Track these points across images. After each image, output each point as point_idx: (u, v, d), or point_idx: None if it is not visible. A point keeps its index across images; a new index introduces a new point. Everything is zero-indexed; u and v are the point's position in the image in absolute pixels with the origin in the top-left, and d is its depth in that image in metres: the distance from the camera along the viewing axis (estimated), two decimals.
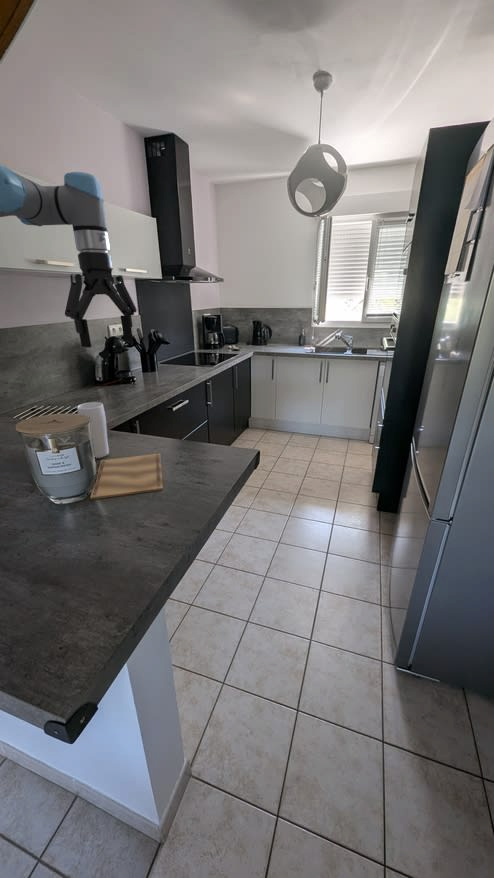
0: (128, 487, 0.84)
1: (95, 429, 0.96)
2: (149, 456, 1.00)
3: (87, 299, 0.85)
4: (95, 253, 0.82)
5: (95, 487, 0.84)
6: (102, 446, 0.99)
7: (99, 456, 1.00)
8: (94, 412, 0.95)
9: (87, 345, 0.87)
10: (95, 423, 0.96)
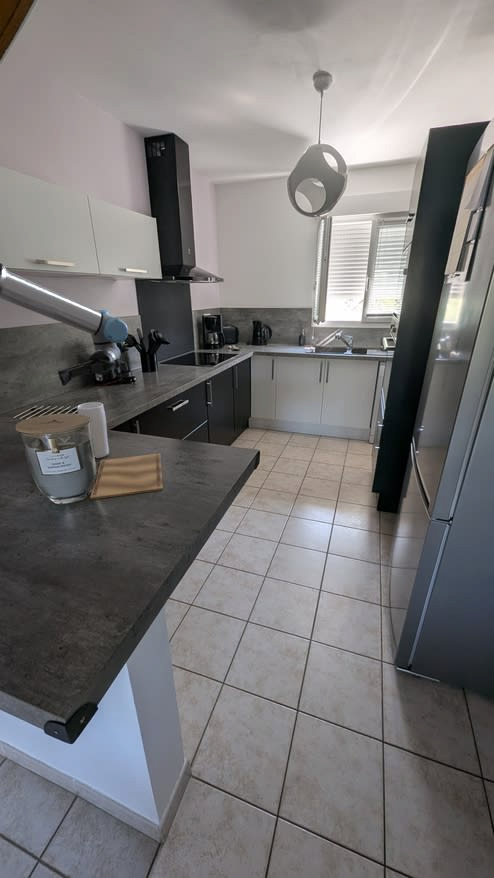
0: (128, 487, 0.84)
1: (95, 429, 0.96)
2: (149, 456, 1.00)
3: None
4: None
5: (95, 487, 0.84)
6: (102, 446, 0.99)
7: (99, 456, 1.00)
8: (94, 412, 0.95)
9: (113, 376, 1.03)
10: (95, 423, 0.96)
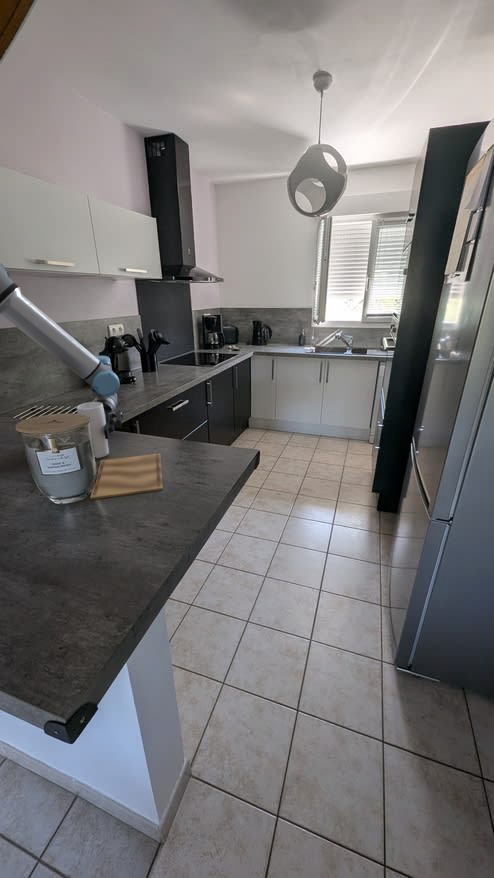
0: (128, 487, 0.84)
1: (95, 429, 0.96)
2: (149, 456, 1.00)
3: None
4: None
5: (95, 487, 0.84)
6: (102, 446, 0.99)
7: (99, 456, 1.00)
8: (94, 412, 0.95)
9: (108, 437, 0.96)
10: (95, 423, 0.96)
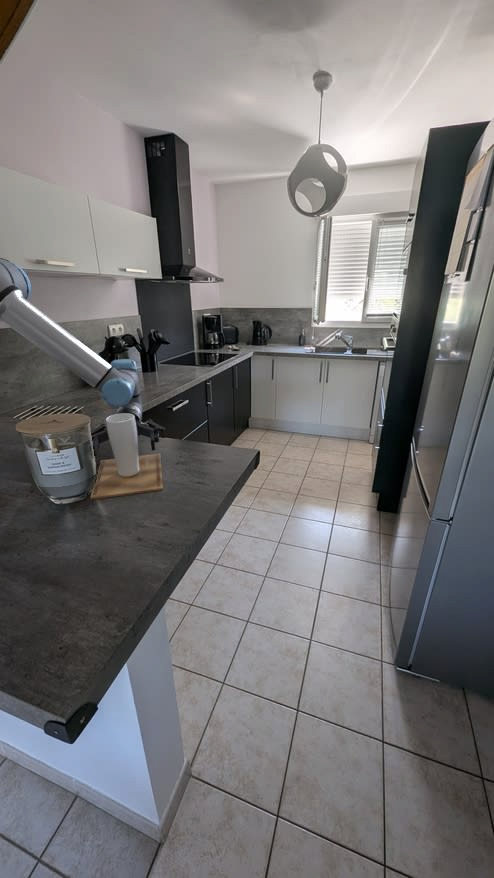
0: (128, 487, 0.84)
1: (126, 444, 0.85)
2: (149, 456, 1.00)
3: None
4: None
5: (95, 487, 0.84)
6: (133, 463, 0.88)
7: (129, 474, 0.88)
8: (126, 426, 0.83)
9: (154, 448, 0.87)
10: (126, 438, 0.84)
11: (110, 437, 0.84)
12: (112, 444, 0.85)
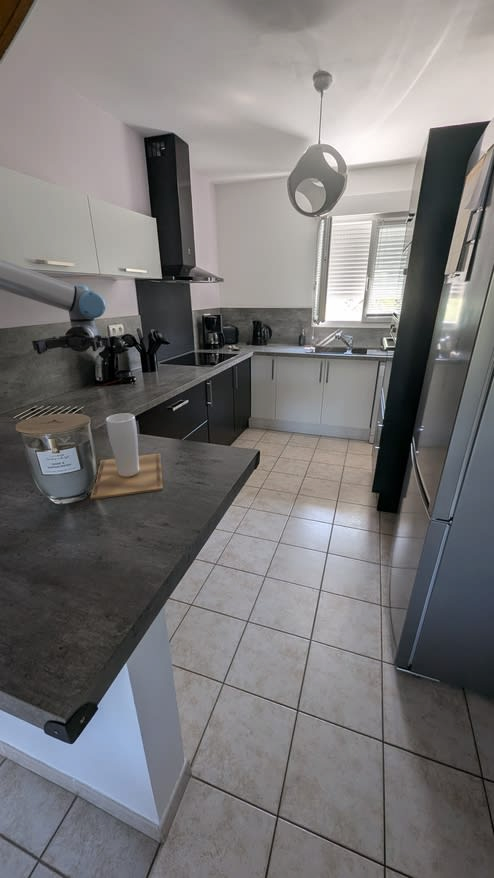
0: (128, 487, 0.84)
1: (126, 445, 0.85)
2: (149, 456, 1.00)
3: None
4: None
5: (95, 487, 0.84)
6: (133, 463, 0.88)
7: (129, 474, 0.88)
8: (126, 426, 0.83)
9: (95, 349, 0.97)
10: (126, 438, 0.84)
11: (110, 437, 0.84)
12: (112, 444, 0.85)
